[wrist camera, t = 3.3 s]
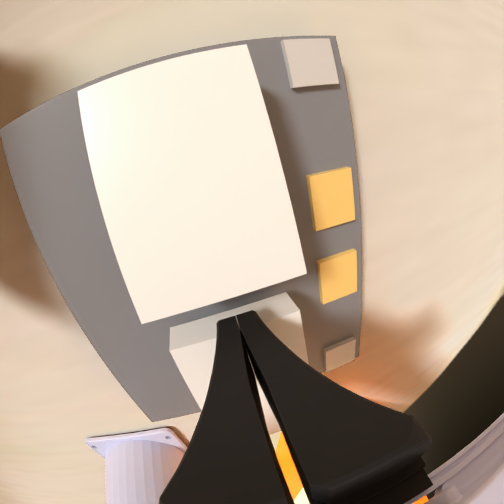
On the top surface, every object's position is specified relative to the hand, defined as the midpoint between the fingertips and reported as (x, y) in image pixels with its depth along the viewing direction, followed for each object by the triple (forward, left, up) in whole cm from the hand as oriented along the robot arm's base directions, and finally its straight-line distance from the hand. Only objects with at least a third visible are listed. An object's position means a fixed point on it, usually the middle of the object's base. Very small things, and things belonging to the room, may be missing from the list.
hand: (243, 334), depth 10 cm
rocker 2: (-3, 0, -1) cm, 4 cm away
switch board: (+1, 0, -4) cm, 5 cm away
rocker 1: (+6, 0, -1) cm, 6 cm away
